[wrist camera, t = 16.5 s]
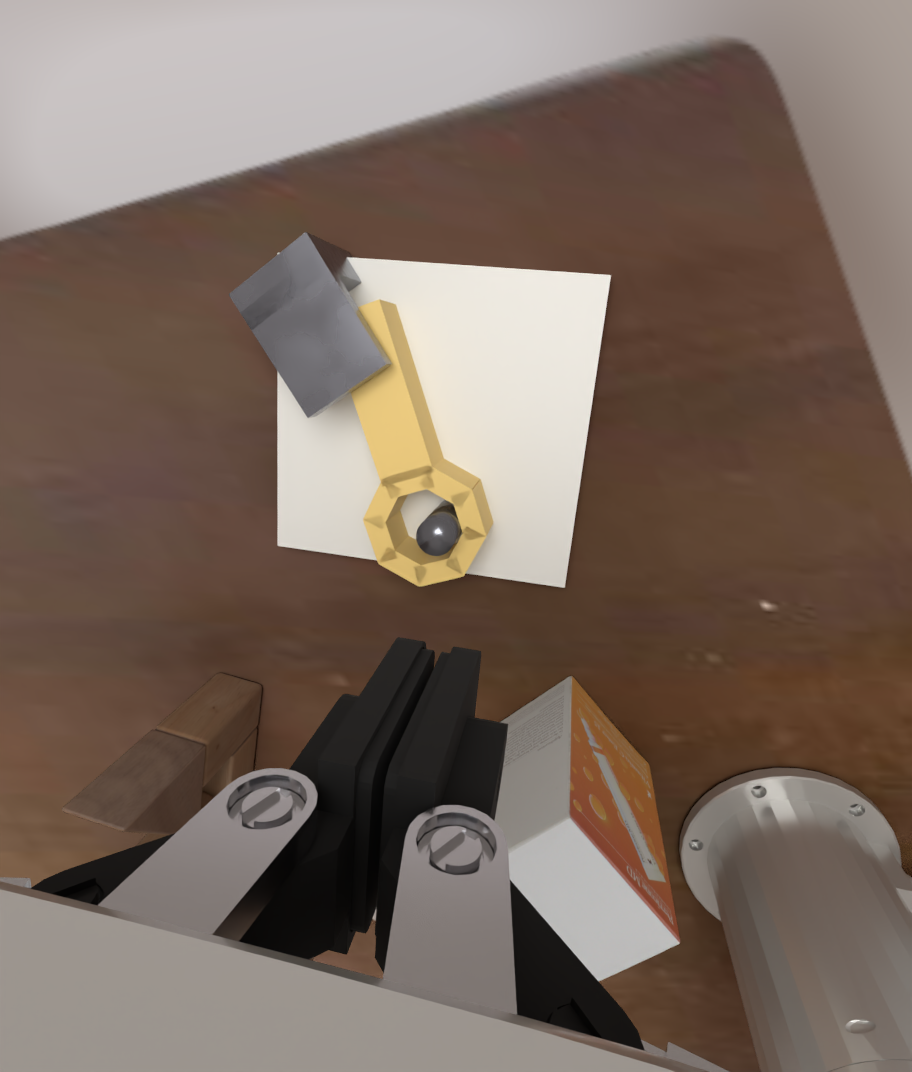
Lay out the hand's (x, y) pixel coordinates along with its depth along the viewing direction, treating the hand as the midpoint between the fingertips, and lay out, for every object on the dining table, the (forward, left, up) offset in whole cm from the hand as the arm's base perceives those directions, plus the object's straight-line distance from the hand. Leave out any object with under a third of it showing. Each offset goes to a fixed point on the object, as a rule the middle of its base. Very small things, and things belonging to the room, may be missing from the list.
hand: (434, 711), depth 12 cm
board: (+6, -3, -25) cm, 26 cm away
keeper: (+11, -7, -25) cm, 28 cm away
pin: (+4, +2, -25) cm, 25 cm away
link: (+7, -1, -24) cm, 25 cm away
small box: (-5, +17, -25) cm, 31 cm away
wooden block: (+19, +22, -25) cm, 38 cm away
